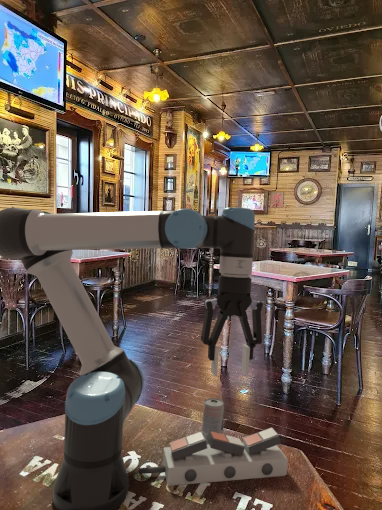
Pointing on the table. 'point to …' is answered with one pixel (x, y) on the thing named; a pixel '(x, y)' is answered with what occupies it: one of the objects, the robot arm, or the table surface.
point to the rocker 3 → (261, 440)
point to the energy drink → (212, 417)
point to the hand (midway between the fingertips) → (229, 373)
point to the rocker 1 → (188, 445)
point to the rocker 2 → (225, 443)
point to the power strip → (220, 466)
